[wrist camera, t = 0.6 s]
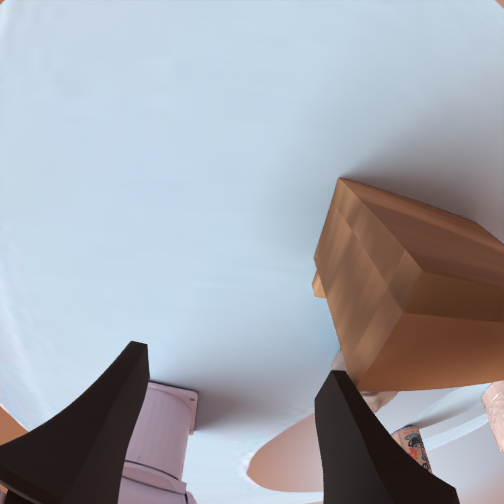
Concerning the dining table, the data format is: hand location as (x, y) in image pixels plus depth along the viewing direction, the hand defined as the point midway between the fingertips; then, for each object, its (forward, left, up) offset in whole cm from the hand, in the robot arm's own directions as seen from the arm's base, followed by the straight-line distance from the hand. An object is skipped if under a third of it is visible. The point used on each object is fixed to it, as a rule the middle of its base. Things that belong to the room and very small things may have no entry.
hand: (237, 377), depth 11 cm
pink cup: (-14, -40, -10) cm, 44 cm away
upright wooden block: (+3, -10, -10) cm, 14 cm away
